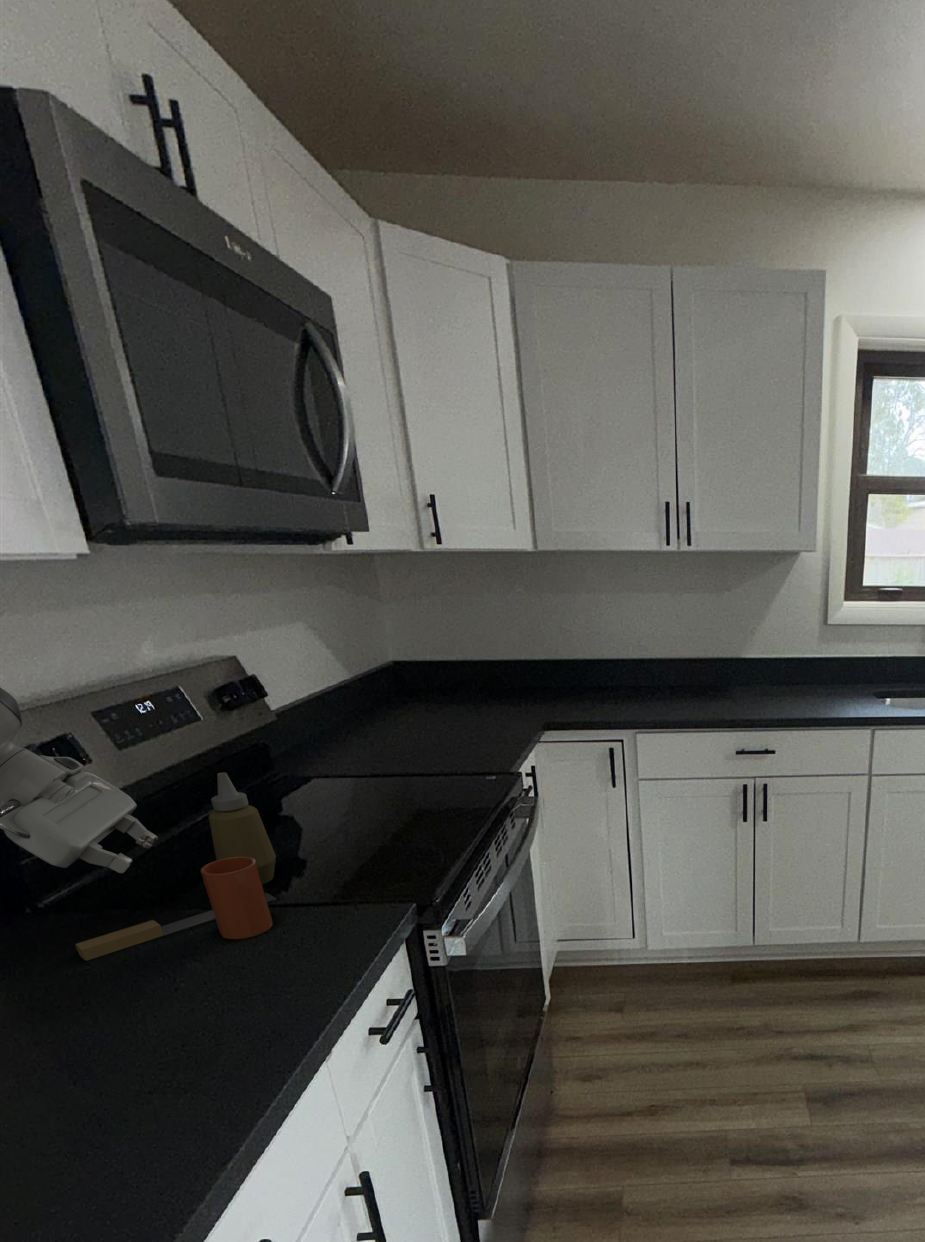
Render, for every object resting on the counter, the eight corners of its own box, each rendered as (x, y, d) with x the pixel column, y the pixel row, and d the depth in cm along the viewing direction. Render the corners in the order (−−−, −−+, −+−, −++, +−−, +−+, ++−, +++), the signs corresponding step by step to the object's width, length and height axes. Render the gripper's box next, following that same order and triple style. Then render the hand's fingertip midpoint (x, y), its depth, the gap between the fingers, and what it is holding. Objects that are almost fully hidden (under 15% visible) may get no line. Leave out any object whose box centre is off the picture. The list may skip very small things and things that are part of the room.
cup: (233, 945, 108) (212, 878, 104) (213, 932, 111) (192, 867, 107) (281, 928, 113) (263, 863, 108) (261, 916, 116) (242, 853, 112)
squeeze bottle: (284, 884, 126) (254, 775, 119) (225, 896, 122) (191, 784, 115) (278, 868, 132) (249, 763, 125) (222, 879, 128) (189, 771, 121)
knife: (87, 963, 103) (82, 950, 103) (79, 956, 105) (74, 943, 104) (277, 901, 121) (273, 889, 120) (267, 896, 122) (264, 884, 122)
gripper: (-1, 795, 90) (126, 865, 97) (76, 754, 108) (179, 815, 115) (-33, 836, 91) (95, 902, 98) (49, 788, 109) (153, 847, 116)
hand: (141, 855), depth 106 cm, fingers open, 8 cm apart
